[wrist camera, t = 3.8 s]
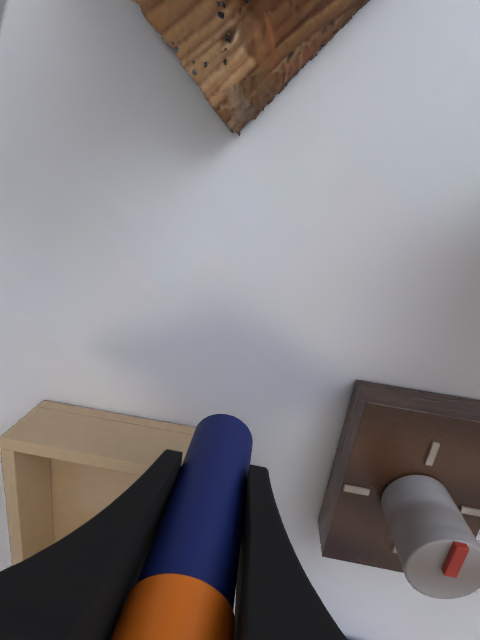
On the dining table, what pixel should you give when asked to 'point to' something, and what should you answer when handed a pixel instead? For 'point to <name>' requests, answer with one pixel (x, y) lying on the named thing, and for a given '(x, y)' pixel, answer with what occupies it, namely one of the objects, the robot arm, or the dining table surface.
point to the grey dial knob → (431, 538)
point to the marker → (195, 543)
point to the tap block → (396, 466)
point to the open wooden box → (74, 468)
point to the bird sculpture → (246, 45)
